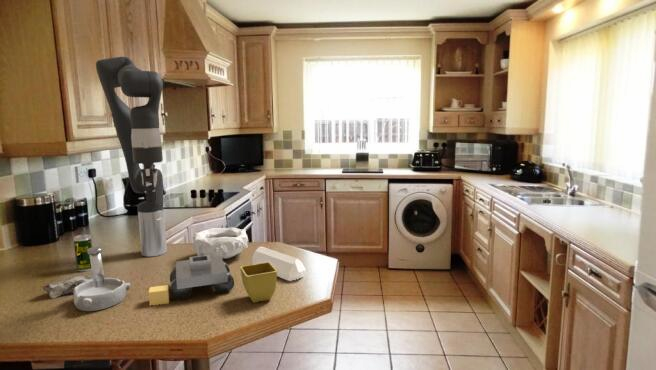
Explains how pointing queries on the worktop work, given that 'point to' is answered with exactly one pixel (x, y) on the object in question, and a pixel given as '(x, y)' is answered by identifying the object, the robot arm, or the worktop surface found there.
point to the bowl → (220, 242)
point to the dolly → (200, 276)
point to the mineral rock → (65, 286)
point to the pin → (96, 266)
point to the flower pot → (259, 281)
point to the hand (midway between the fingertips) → (151, 203)
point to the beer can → (82, 252)
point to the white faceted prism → (280, 263)
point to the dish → (99, 294)
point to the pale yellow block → (159, 295)
